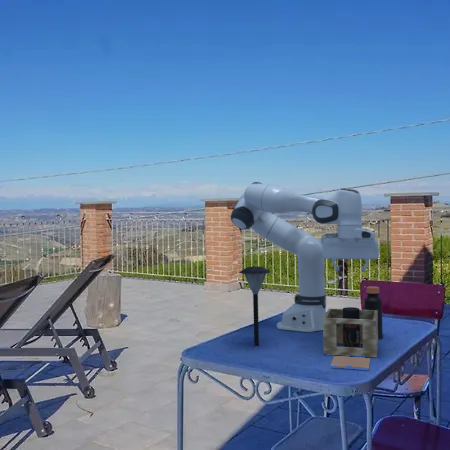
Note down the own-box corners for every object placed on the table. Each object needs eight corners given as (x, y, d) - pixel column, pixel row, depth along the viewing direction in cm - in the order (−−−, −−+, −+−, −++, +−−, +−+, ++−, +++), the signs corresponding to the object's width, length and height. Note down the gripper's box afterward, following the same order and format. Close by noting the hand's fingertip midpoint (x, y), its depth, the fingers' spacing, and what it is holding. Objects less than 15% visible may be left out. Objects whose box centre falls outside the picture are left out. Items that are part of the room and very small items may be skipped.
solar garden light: (275, 342, 201) (274, 265, 200) (268, 351, 189) (267, 269, 188) (245, 341, 205) (243, 265, 204) (236, 349, 193) (234, 269, 192)
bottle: (364, 338, 204) (363, 288, 203) (365, 334, 210) (364, 285, 210) (382, 340, 202) (381, 288, 201) (383, 335, 208) (382, 286, 207)
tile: (330, 368, 168) (330, 365, 168) (334, 357, 179) (334, 355, 179) (368, 371, 164) (368, 368, 164) (370, 360, 176) (370, 357, 176)
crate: (323, 354, 183) (323, 318, 183) (329, 342, 200) (329, 308, 200) (376, 358, 178) (376, 320, 177) (378, 344, 195) (377, 310, 194)
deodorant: (357, 352, 185) (356, 310, 185) (341, 350, 188) (340, 309, 188) (362, 348, 190) (361, 308, 190) (346, 346, 193) (345, 306, 193)
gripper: (319, 233, 188) (320, 271, 188) (378, 233, 182) (379, 272, 182) (321, 233, 194) (322, 269, 194) (378, 232, 188) (379, 270, 188)
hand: (350, 271), depth 188 cm, fingers open, 8 cm apart
